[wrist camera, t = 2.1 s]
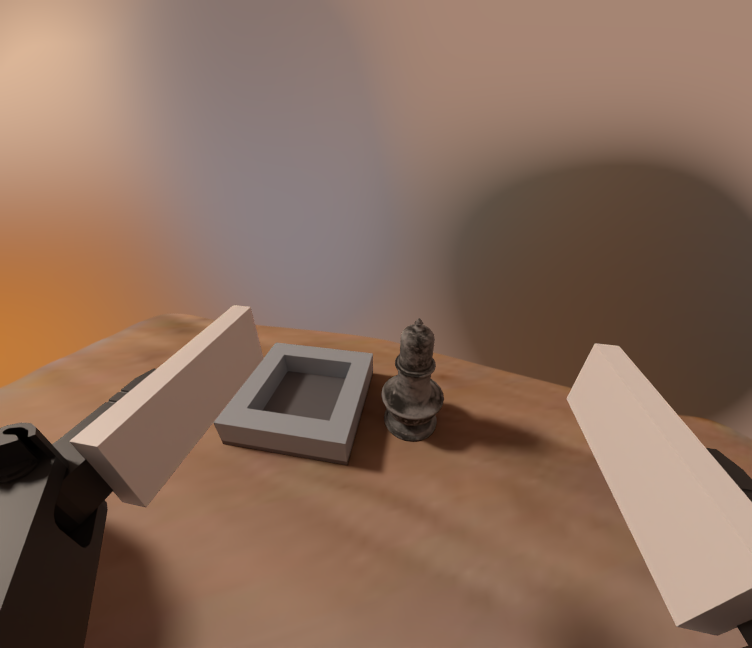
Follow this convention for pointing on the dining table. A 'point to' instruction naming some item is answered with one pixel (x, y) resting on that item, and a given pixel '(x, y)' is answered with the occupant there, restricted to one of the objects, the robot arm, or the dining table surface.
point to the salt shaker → (413, 387)
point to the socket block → (300, 403)
